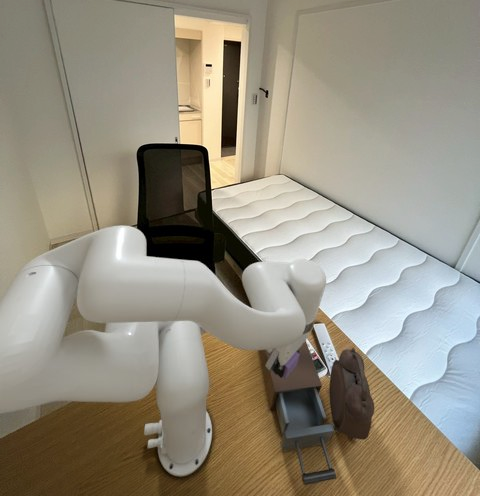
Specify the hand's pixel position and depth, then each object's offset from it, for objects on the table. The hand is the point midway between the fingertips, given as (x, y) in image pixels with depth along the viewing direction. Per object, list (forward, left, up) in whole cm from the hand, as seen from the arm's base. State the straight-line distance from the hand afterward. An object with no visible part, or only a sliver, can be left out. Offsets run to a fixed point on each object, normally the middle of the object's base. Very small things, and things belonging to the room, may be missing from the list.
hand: (283, 363), depth 58 cm
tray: (+5, -6, -17) cm, 18 cm away
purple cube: (0, 0, 0) cm, 0 cm away
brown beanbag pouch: (+17, -4, -18) cm, 25 cm away
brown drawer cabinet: (+5, +6, -17) cm, 19 cm away
